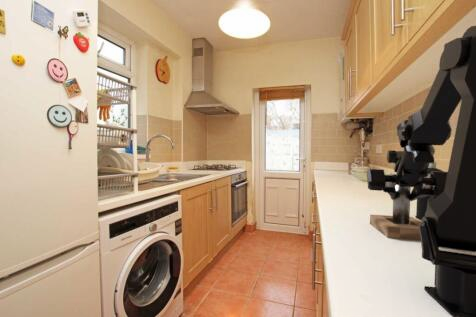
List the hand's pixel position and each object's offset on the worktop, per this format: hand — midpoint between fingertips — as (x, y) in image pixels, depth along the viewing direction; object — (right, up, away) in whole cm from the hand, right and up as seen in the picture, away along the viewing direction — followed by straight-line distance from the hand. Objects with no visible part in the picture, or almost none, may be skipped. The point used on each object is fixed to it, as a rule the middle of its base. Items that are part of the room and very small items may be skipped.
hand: (401, 199), depth 67 cm
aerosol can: (+19, -10, +13) cm, 25 cm away
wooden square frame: (0, -9, 0) cm, 9 cm away
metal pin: (0, -7, 0) cm, 7 cm away
